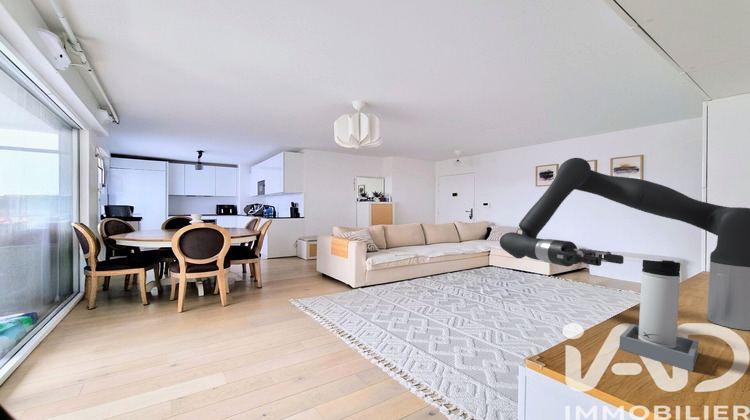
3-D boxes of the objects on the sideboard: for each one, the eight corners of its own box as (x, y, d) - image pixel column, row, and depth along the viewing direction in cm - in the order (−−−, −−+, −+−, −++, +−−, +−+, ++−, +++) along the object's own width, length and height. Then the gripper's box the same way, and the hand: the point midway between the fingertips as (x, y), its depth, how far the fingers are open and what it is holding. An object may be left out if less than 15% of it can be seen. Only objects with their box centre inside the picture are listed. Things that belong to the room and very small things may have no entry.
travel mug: (646, 350, 67) (651, 259, 66) (633, 338, 73) (637, 255, 72) (683, 356, 65) (688, 262, 64) (666, 343, 71) (671, 257, 70)
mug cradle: (631, 335, 77) (631, 324, 77) (698, 354, 68) (698, 341, 68) (619, 348, 69) (620, 335, 69) (692, 371, 61) (693, 356, 60)
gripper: (538, 240, 92) (593, 247, 77) (572, 239, 97) (630, 245, 82) (538, 265, 92) (592, 277, 77) (572, 262, 97) (629, 273, 82)
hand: (611, 260), depth 79 cm, fingers open, 8 cm apart
